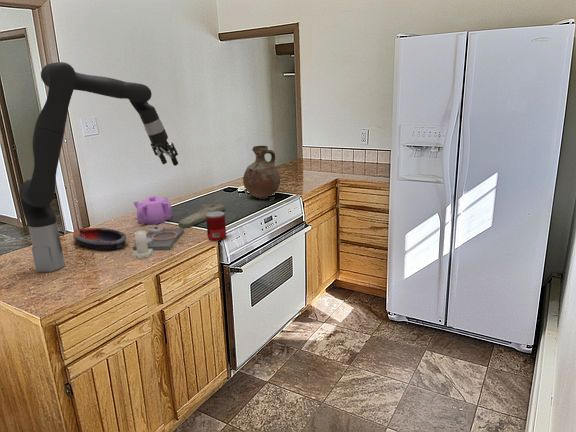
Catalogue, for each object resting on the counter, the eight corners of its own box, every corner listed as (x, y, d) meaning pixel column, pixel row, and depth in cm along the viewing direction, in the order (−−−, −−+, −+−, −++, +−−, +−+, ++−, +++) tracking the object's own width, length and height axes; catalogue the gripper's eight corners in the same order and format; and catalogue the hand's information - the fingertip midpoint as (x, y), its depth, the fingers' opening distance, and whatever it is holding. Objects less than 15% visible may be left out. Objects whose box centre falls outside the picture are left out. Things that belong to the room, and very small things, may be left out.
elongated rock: (173, 230, 207) (190, 233, 204) (172, 219, 206) (189, 223, 202) (213, 207, 237) (229, 209, 234) (212, 198, 236) (228, 200, 232)
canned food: (229, 237, 190) (228, 213, 187) (215, 242, 185) (213, 217, 182) (218, 233, 195) (217, 210, 192) (204, 238, 190) (202, 214, 187)
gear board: (169, 249, 178) (168, 241, 177) (133, 250, 178) (132, 242, 177) (184, 231, 200) (183, 224, 199) (151, 232, 200) (150, 224, 199)
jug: (237, 197, 259) (234, 146, 250) (265, 191, 272) (263, 143, 263) (259, 204, 243) (256, 150, 234) (288, 197, 256) (286, 145, 248)
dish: (104, 256, 173) (102, 244, 172) (64, 242, 191) (62, 231, 189) (137, 244, 185) (136, 233, 184) (96, 232, 203) (95, 222, 201)
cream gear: (149, 258, 169) (146, 235, 166) (129, 258, 169) (126, 235, 166) (156, 251, 176) (153, 229, 174) (137, 251, 177) (134, 229, 174)
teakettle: (140, 227, 208) (137, 202, 204) (134, 218, 222) (131, 195, 219) (176, 222, 215) (173, 197, 211) (168, 213, 230) (166, 191, 226)
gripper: (139, 134, 189) (155, 167, 197) (158, 135, 180) (173, 169, 188) (153, 126, 193) (167, 159, 201) (172, 127, 184) (186, 161, 192)
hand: (170, 164), depth 194 cm, fingers open, 8 cm apart
